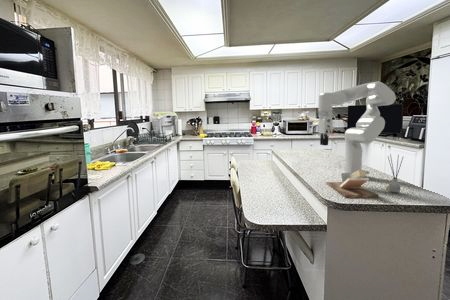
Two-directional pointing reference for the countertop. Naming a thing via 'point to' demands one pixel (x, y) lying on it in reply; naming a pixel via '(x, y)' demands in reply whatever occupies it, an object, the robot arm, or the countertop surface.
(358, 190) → the board
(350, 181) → the tile
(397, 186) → the reed diffuser
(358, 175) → the trowel
